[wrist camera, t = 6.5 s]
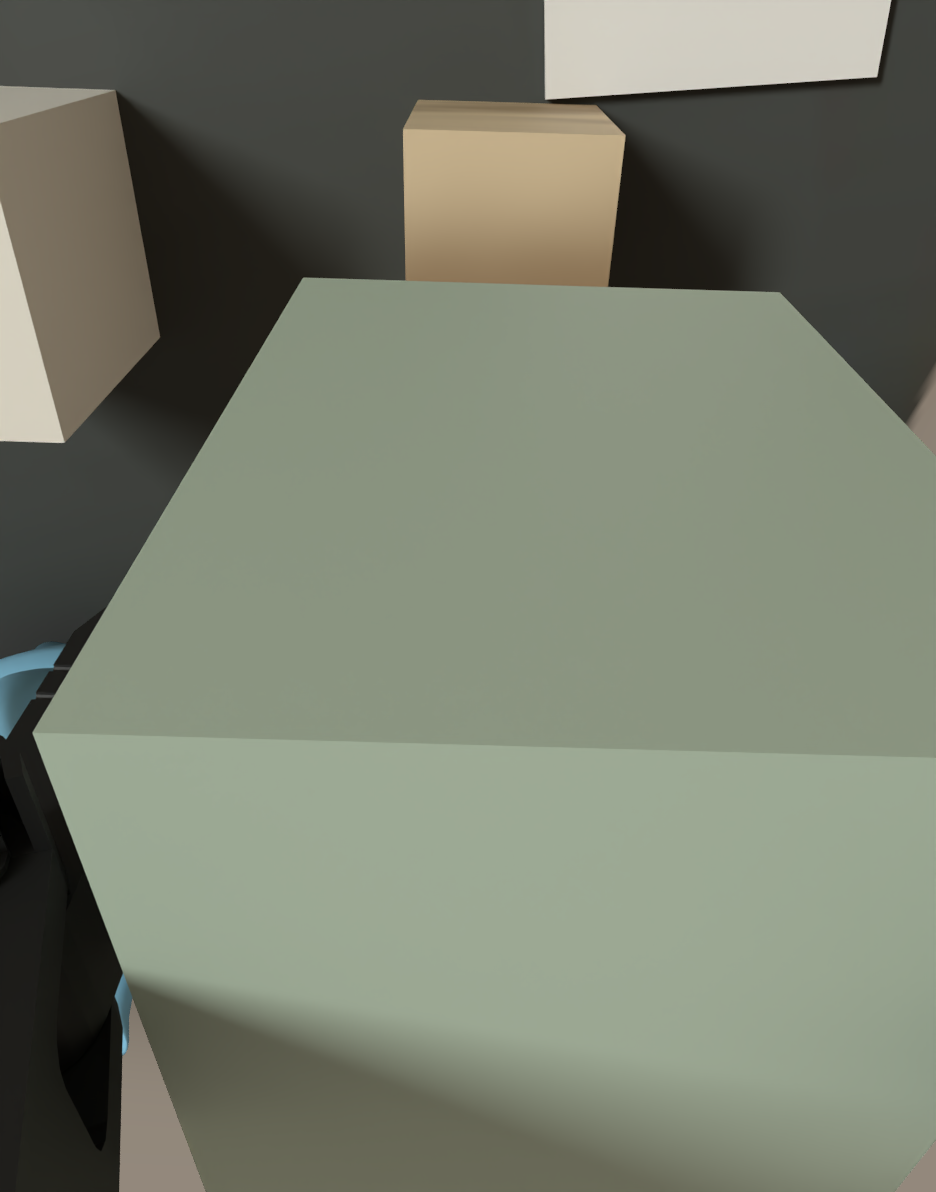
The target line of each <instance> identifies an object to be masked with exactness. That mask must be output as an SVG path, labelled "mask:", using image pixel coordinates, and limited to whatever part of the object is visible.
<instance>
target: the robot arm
mask: <svg viewBox="0 0 936 1192" xmlns="http://www.w3.org/2000/svg"><path fill="white" fill-rule="evenodd" d="M106 608H107V607H106ZM106 608H104V609H103V610H102V611H100V612H99V613H98V614H96V615H95V616H94V617H93V618H91V619H90V620H89V621H87V622H86V623H85V624H83V625H82V626H81V627H79V628H78V629H77V630H75V631H74V633H73V634H72V636H71V637H70V639H69V641H68V642H67V644H66V645H65V647H64V648H63V650H62V652H61V653H60V655H59V656H58V658H57V660H56V661H55V663H54V664H53V665H54V669H53V671H49V672H48V674H47V675H46V677H45V679H44V680H43V682H42V683H41V685H40V686H39V688H38V690H37V691H36V699H31V701H30V702H29V704H28V705H27V707H26V709H25V710H24V712H23V713H22V715H21V717H20V718H19V720H18V721H17V723H16V724H15V726H14V728H13V729H12V731H11V732H10V734H9V736H8V737H7V739H5V738H4V737H3V736H1V735H0V1192H119V1172H120V1169H119V1168H120V1129H121V1084H122V1083H121V1081H122V1043H123V1026H122V1021H121V1017H120V1012H119V1007H118V1003H117V1001H116V998H115V994H116V991H117V988H118V986H119V983H120V980H121V977H122V975H123V971H122V969H121V966H120V963H119V961H118V958H117V955H116V953H115V950H114V947H113V945H112V942H111V939H110V937H109V934H108V931H107V929H106V926H105V924H104V921H103V918H102V916H101V913H100V910H99V908H98V905H97V902H96V900H95V897H94V894H93V892H92V889H91V887H90V884H89V881H88V879H87V876H86V873H85V871H84V868H83V865H82V863H81V860H80V857H79V855H78V852H77V849H76V847H75V844H74V842H73V839H72V836H71V834H70V831H69V828H68V826H67V823H66V820H65V818H64V815H63V812H62V810H61V807H60V805H59V802H58V799H57V797H56V794H55V791H54V789H53V786H52V783H51V781H50V778H49V775H48V773H47V770H46V767H45V765H44V762H43V760H42V757H41V754H40V752H39V749H38V746H37V744H36V741H35V738H34V736H33V733H32V732H33V731H34V729H35V727H36V726H37V724H38V722H39V721H40V719H41V717H42V716H43V714H44V712H45V711H46V709H47V707H48V706H49V704H50V702H51V701H52V699H53V697H54V695H55V694H56V692H57V690H58V689H59V687H60V685H61V684H62V682H63V680H64V679H65V677H66V675H67V674H68V672H69V670H70V669H71V667H72V665H73V664H74V662H75V660H76V659H77V657H78V655H79V653H80V652H81V650H82V648H83V647H84V645H85V643H86V642H87V640H88V638H89V637H90V635H91V633H92V632H93V630H94V628H95V627H96V625H97V623H98V622H99V620H100V618H101V616H102V615H103V613H104V611H105V610H106Z"/></svg>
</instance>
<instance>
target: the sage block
mask: <svg viewBox="0 0 936 1192" xmlns="http://www.w3.org/2000/svg"><path fill="white" fill-rule="evenodd" d="M32 733H33V736H34V738H35V741H36V744H37V746H38V749H39V752H40V754H41V757H42V760H43V762H44V765H45V767H46V770H47V773H48V775H49V778H50V781H51V783H52V786H53V789H54V791H55V794H56V797H57V799H58V802H59V805H60V807H61V810H62V812H63V815H64V818H65V820H66V823H67V826H68V828H69V831H70V834H71V836H72V839H73V842H74V844H75V847H76V849H77V852H78V855H79V857H80V860H81V863H82V865H83V868H84V871H85V873H86V876H87V879H88V881H89V884H90V887H91V889H92V892H93V894H94V897H95V900H96V902H97V905H98V908H99V910H100V913H101V916H102V918H103V921H104V924H105V926H106V929H107V931H108V934H109V937H110V939H111V942H112V945H113V947H114V950H115V953H116V955H117V958H118V961H119V963H120V966H121V969H122V971H123V974H124V976H125V979H126V982H127V984H128V987H129V990H130V992H131V995H132V998H133V1000H134V1003H135V1006H136V1008H137V1011H138V1013H139V1016H140V1019H141V1021H142V1024H143V1027H144V1029H145V1032H146V1035H147V1037H148V1040H149V1043H150V1045H151V1048H152V1051H153V1053H154V1056H155V1058H156V1061H157V1064H158V1066H159V1069H160V1072H161V1074H162V1077H163V1080H164V1082H165V1085H166V1088H167V1090H168V1093H169V1095H170V1098H171V1101H172V1103H173V1106H174V1108H175V1111H176V1114H177V1117H178V1119H179V1122H180V1124H181V1127H182V1130H183V1132H184V1135H185V1138H186V1140H187V1143H188V1146H189V1148H190V1151H191V1154H192V1156H193V1159H194V1162H195V1164H196V1167H197V1169H198V1172H199V1175H200V1177H201V1180H202V1183H203V1185H204V1188H205V1191H206V1192H895V1191H896V1190H897V1188H898V1187H899V1186H900V1185H901V1183H902V1182H903V1181H904V1180H905V1178H906V1177H907V1176H908V1174H909V1173H910V1172H911V1170H912V1169H913V1168H914V1167H915V1166H916V1164H917V1163H918V1162H919V1161H920V1159H921V1158H922V1156H924V1154H925V1153H926V1152H927V1150H928V1149H929V1148H930V1147H931V1145H932V1144H933V1143H934V1142H935V1140H936V456H935V455H934V454H933V453H932V452H931V450H930V449H929V448H928V447H927V446H926V445H925V444H924V443H923V442H922V441H921V440H920V439H919V438H918V437H917V436H916V435H915V434H914V433H913V432H912V431H911V430H910V428H909V427H908V426H907V425H906V424H905V423H904V422H903V421H902V420H901V419H900V418H899V417H898V416H897V415H896V414H895V413H894V412H893V411H892V410H891V409H890V408H889V406H888V405H887V404H886V403H885V402H884V401H883V400H882V399H881V398H880V397H879V396H878V395H877V394H876V393H875V392H874V391H873V390H872V389H871V388H870V387H869V386H868V384H867V383H866V382H865V381H864V380H863V379H862V378H861V377H860V376H859V375H858V374H857V373H856V372H855V371H854V370H853V369H852V368H851V367H850V366H849V365H848V364H847V362H846V361H845V360H844V359H843V358H842V357H841V356H840V355H839V354H838V353H837V352H836V351H835V350H834V349H833V348H832V347H831V346H830V345H829V344H828V343H827V342H826V340H825V339H824V338H823V337H822V336H821V335H820V334H819V333H818V332H817V331H816V330H815V329H814V328H813V327H812V326H811V325H810V324H809V323H808V322H807V321H806V320H805V318H804V317H803V316H802V315H801V314H800V313H799V312H798V311H797V310H796V309H795V308H794V307H793V306H792V305H791V304H790V303H789V302H788V301H787V300H786V299H785V298H784V296H783V295H782V294H781V293H780V292H751V291H719V290H687V289H655V288H623V287H591V286H559V285H526V284H494V283H462V282H430V281H398V280H366V279H334V278H303V279H302V280H301V282H300V284H299V285H298V287H297V289H296V290H295V292H294V294H293V295H292V297H291V299H290V300H289V302H288V304H287V306H286V307H285V309H284V311H283V312H282V314H281V316H280V317H279V319H278V321H277V322H276V324H275V326H274V327H273V329H272V331H271V332H270V334H269V336H268V337H267V339H266V341H265V342H264V344H263V346H262V348H261V349H260V351H259V353H258V354H257V356H256V358H255V359H254V361H253V363H252V364H251V366H250V368H249V369H248V371H247V373H246V374H245V376H244V378H243V379H242V381H241V383H240V385H239V386H238V388H237V390H236V391H235V393H234V395H233V396H232V398H231V400H230V401H229V403H228V405H227V406H226V408H225V410H224V411H223V413H222V415H221V416H220V418H219V420H218V421H217V423H216V425H215V427H214V428H213V430H212V432H211V433H210V435H209V437H208V438H207V440H206V442H205V443H204V445H203V447H202V448H201V450H200V452H199V453H198V455H197V457H196V458H195V460H194V462H193V464H192V465H191V467H190V469H189V470H188V472H187V474H186V475H185V477H184V479H183V480H182V482H181V484H180V485H179V487H178V489H177V490H176V492H175V494H174V495H173V497H172V499H171V500H170V502H169V504H168V506H167V507H166V509H165V511H164V512H163V514H162V516H161V517H160V519H159V521H158V522H157V524H156V526H155V527H154V529H153V531H152V532H151V534H150V536H149V537H148V539H147V541H146V543H145V544H144V546H143V548H142V549H141V551H140V553H139V554H138V556H137V558H136V559H135V561H134V563H133V564H132V566H131V568H130V569H129V571H128V573H127V574H126V576H125V578H124V579H123V581H122V583H121V585H120V586H119V588H118V590H117V591H116V593H115V595H114V596H113V598H112V600H111V601H110V603H109V605H108V606H107V608H106V610H105V611H104V613H103V615H102V616H101V618H100V620H99V622H98V623H97V625H96V627H95V628H94V630H93V632H92V633H91V635H90V637H89V638H88V640H87V642H86V643H85V645H84V647H83V648H82V650H81V652H80V653H79V655H78V657H77V659H76V660H75V662H74V664H73V665H72V667H71V669H70V670H69V672H68V674H67V675H66V677H65V679H64V680H63V682H62V684H61V685H60V687H59V689H58V690H57V692H56V694H55V695H54V697H53V699H52V701H51V702H50V704H49V706H48V707H47V709H46V711H45V712H44V714H43V716H42V717H41V719H40V721H39V722H38V724H37V726H36V727H35V729H34V731H33V732H32Z"/></svg>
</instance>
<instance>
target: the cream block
mask: <svg viewBox="0 0 936 1192" xmlns="http://www.w3.org/2000/svg"><path fill="white" fill-rule="evenodd" d="M159 338H160V333H159V328H158V322H157V317H156V311H155V306H154V300H153V295H152V289H151V284H150V278H149V273H148V267H147V262H146V256H145V251H144V245H143V240H142V234H141V229H140V223H139V218H138V212H137V207H136V201H135V196H134V190H133V185H132V179H131V174H130V168H129V163H128V157H127V152H126V146H125V141H124V135H123V129H122V124H121V118H120V113H119V107H118V102H117V96H116V91H115V90H97V89H69V88H41V87H13V86H0V441H21V442H53V443H65V442H66V441H67V440H68V439H69V437H70V436H71V435H72V434H73V433H74V432H75V431H76V430H77V429H78V427H79V426H80V425H81V424H82V423H83V422H84V421H85V420H86V419H87V418H88V416H89V415H90V414H91V413H92V412H93V411H94V410H95V409H96V408H97V407H98V405H99V404H100V403H101V402H102V401H103V400H104V399H105V398H106V397H107V395H108V394H109V393H110V392H111V391H112V390H113V389H114V388H115V387H116V386H117V384H118V383H119V382H120V381H121V380H122V379H123V378H124V377H125V376H126V374H127V373H128V372H129V371H130V370H131V369H132V368H133V367H134V366H135V365H136V363H137V362H138V361H139V360H140V359H141V358H142V357H143V356H144V355H145V354H146V352H147V351H148V350H149V349H150V348H151V347H152V346H153V345H154V344H155V342H156V341H157V340H158V339H159Z"/></svg>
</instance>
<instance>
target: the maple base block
mask: <svg viewBox="0 0 936 1192" xmlns="http://www.w3.org/2000/svg"><path fill="white" fill-rule="evenodd" d="M625 136H626V135H625V134H624V133H623V132H622V131H621V130H620V129H619V128H618V127H617V126H616V125H615V124H614V123H613V122H612V121H611V120H610V119H609V118H608V117H607V116H606V115H605V114H604V113H603V112H602V111H601V110H600V109H599V108H598V106H597V105H580V104H546V103H512V102H478V101H444V100H418V101H417V103H416V105H415V107H414V109H413V111H412V113H411V115H410V117H409V119H408V120H407V122H406V124H405V126H404V128H403V152H404V209H405V266H406V281H430V282H462V283H494V284H526V285H559V286H591V287H608V281H609V273H610V264H611V256H612V247H613V239H614V230H615V221H616V213H617V204H618V196H619V187H620V179H621V170H622V162H623V153H624V145H625Z"/></svg>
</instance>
